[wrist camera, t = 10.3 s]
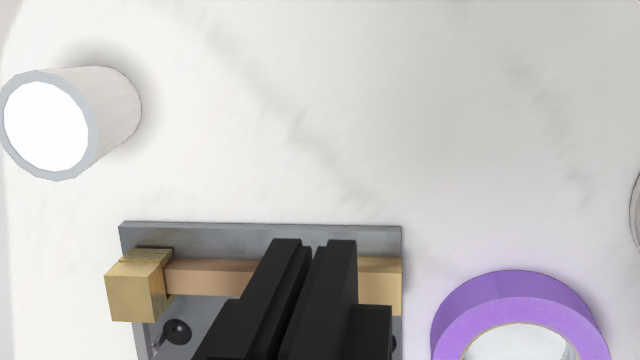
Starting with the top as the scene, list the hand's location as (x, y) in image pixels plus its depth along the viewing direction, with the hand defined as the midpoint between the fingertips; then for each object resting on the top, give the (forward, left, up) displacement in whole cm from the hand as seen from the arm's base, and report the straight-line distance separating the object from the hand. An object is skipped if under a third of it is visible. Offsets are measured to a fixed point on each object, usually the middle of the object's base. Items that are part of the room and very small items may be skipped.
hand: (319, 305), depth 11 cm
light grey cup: (+20, +1, -27) cm, 34 cm away
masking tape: (-9, +19, -28) cm, 35 cm away
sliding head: (+17, +15, -26) cm, 35 cm away
